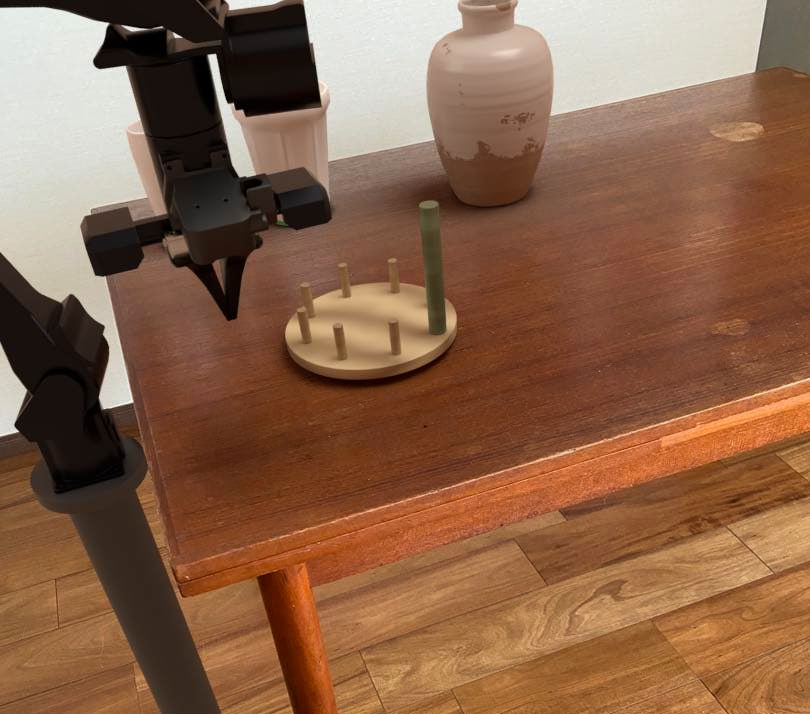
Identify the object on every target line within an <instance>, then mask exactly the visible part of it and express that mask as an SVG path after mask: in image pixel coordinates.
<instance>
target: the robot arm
mask: <svg viewBox="0 0 810 714" xmlns="http://www.w3.org/2000/svg"><path fill="white" fill-rule="evenodd" d="M305 7H306V6H305V1H304V0H280V1H278V2H276V3H272V4H267V5H259V6H258V5H257V6H251V7H243V8H236V9H230V4H229V2H227V1H226V0H0V9H20V8H27V9H28V8H32V9H33V8H47V9H51V10H57V11H63V12H67V13H69V14H73V15H76V16H79V17H81V18H85V19H88V20H91V21H95V22H98V23H99V22H101V23H106V24H107V26H106V28H105V35H104V39H103V41H102V44H101V45H100V47H99V48H98V50H97V52H96V53H95V55H94V57H93V58H92V64H93V66H94V67H95V68H96V69H97V70H105V69H113V68H114V69H115V68H121V67H125V69H126V73H127V76H128V80H129V84H130V87H131V91H132V94H133V98H134V102H135V105H136V108H137V113H138V115H139V119H140V120H141V123H142V127H143V130H144V134H145V138H146V141H147V145H148V148H149V152H150V155H151V159H152V163H153V166H154V170H155V173H156V177H157V181H158V184H159V188H160V191H161V195H162V198H163V202H164V206H165V209H166V213H167V214H163V215H158V216H150V217H146V218H140V219H137V220H133V216H132V214H131V211H130V209H129V206H128V205H127V206H123V207H118V208H114V209H110V210H106V211H101V212H96V213H92V214H88V215H84V217H83V219H82V221H81V223H80V225H79V228H80V232H81V237H82V240H83V245H84V247H85V251H86V254H87V257H88V259H89V263H90V265H91V268H92V271H93V274H94V276H95V277H100V278H101V277H102V278H105V277H109V276H113V275H118V274H121V273H126V272H129V271H135V270H137V269H138V268H139V267H140V265H141V264H142V262H143V260H144V258H145V254H144V250H143V248H144V247H149V246H153V245H158V244H160V243H161V244H163V247H164V249H165V252H166V254H167V257H168V259H169V262H170V264H171V266H172V267H173V268H174V269H175V268H176V269H182V268H188V269H189V270H190V271H191V272H192V273H193V274H194V275H195V276H196V278H198V279H199V281H200V282H201V283H202V284H203V286H204V287H205V288H206V290H207V291H208V293H209V294H210V296H211V298H212V299H213V300H214V302H215V304H216V305H217V307H218V309H219V311H220V312H221V313H222V315H223V316H224V318H225V320H226V321H227V322H231V321H235V320H237V319H238V313H239V306H240V298H241V289H242V281H243V275H244V270H245V267H246V263H247V261H248V259H249V257H250V255H251V254H252V253H253V252H254V251H256V250H259V249H261V248H262V247H263V246H264V239H263V238H262V236H261V234H260V233H262V232H266V231H269V230H270V226H274V225H277V222H278V219H277V215H280V214H282V218H283V221H284V223H285V224H287V225H289V226H288V227H290V228H291V229H293V230H295V231H300V230H304V229H309V228H312V227H317V226H321V225H325V224H328V223H329V222H330V221H332V219H333V215H332V210H331V201H330V202H329V197H328V194H327V191H326V189H325V187H324V186H323V185H322V184H321V183H320V182H319V180H318V179H317V178H316V177H315V176H314V175H313V173H311V172H310V171H309V170H308V169H306V168H305V167H300V168H295V169H291V170H286V171H282V172H278V173H273V174H269V175H267V174H265V173H263V174H258V175H256V174H254V175H250V176H247V175H244V176H243V175H242V176H239V174H238V171H237V170H236V169H235V167H234V165H233V160H232V156H231V152H230V147H229V143H228V138H227V134H226V130H225V126H224V121H223V117H222V111H221V107H220V102H219V98H218V94H217V89H216V84H215V80H214V75H213V70H212V67H211V62H210V57H209V56H211V55H215V56H216V61H217V67H218V72H219V78H220V83H221V86H222V91H223V95H224V98H225V101H226V103H227V105H230V104H233V103H234V106H235V110H236V111H237V110H243V112H244V115H245V117H253V116H261V115H268V114H276V113H283V112H291V111H298V110H306V109H313V108H321V107H322V103H321V96H320V89H319V82H318V80H319V77H318V69H317V61H316V56H315V48H314V43H313V42H311V40H310V35H309V34H310V33H309V27H308V21H307V15H306V14H307V13H306V8H305ZM126 27H129V28H134V29H135V28H136V29H139V30H133V31H132V30H129V29H128V28H126ZM174 34H175V35H177V36H179V37H175V35H174ZM216 261H219V268H220V273H221V280H222V284H221V282H220V280H219V277H218V275H217V273H216V270H215V267H214V265H213V264H214V263H215V262H216ZM105 329H106V326H105V325H104V324H103V323H101V322H99V321H98V320H97V319H95V318H94V317H92V316H91V315H90V314H89V312H88V311H87V310H86V308H85V307H84V306H83V304H82V303H81V300H79V298H78V297H76V295H75V294H73V293H69V294H68V295H67V296H66V297H65V298H64V299H62V301H58V300H56V299H55V298H52V297H50V296H47V295H45V294H42V293H41V292H39V291H38V290H37V289H36V288H35V287H34V286H33V285H32V284H31V283H30V282H29V281H28V280H27V279H26V278H25V277H24V276H23V275H22V273H21V272H20V271H19V270H18V269H17V268H16V267H15V266H14V265H13V263H11V262H10V260H8V259H7V258H6V256H5V255H4V254H3V253H2V252H1V251H0V346H1V347H2V350H3V353H4V354H5V358H6V359H7V361H8V364H9V366H10V369H11V371H12V373H13V374H14V375H15V377H16V378H17V380H18V381H19V382H20V383H21V385H22V386H23V387H24V388H25V390H26V391H25V394H24V398H23V400H22V403H21V405H20V408H19V411H18V413H17V416H16V418H15V421H14V423H13V427H14V428H15V429H16V430H17V432H18V433H20V434H21V436H22V437H23V438H25V439H26V441H28V442H29V443H35V444H36V446H37V449H38V451H39V453H40V455H41V458H42V457H43V460H44V462H45V464H46V466H47V468H48V470H49V472H50V475H51V480H52V489H53V491H54V493H55V494H61V493H65V492H68V491H72V490H75V489H79V488H82V487H86V486H89V485H93V484H96V483H100V482H103V481H107V480H110V479H114V478H117V477H121V476H123V475H124V474H125V469H124V464H123V459H125V457H126V453H125V448H124V444H123V441H122V438H121V435H120V433H121V432H120V431H119V428H118V425H117V422H116V420H115V416H114V414H113V412H112V410H111V408H108V407H106V408H104V406H103V404H102V401H101V399H100V394H101V391H102V388H103V384H104V380H105V377H106V373H107V368H108V365H109V361H110V344H109V342H108V340H107V338H106V337H105V335H104V333H105Z"/></svg>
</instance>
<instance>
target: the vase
mask: <svg viewBox="0 0 810 714" xmlns="http://www.w3.org/2000/svg"><path fill="white" fill-rule="evenodd" d="M518 4H519V0H459V1H458V2H457V10H458V12H460V15H461V25H462V27H461V28H457V29H456V30H453V31H451V32H448V33H446V34H445V35H443V37H441V38H440V39H439V40H438V41H436V42H435V44H434V47H433V48H432V50H431V51H430V55H429V59H428V62H427V68H426V79H425V80H426V81H425V82H426V83H425V85H426V102H427V110H428V115H429V120H430V124H431V129H432V134H433V139H434V143H435V146H436V150H437V153H438V157H439V160H440V162H441V165H442V167H443V169H444V172H445V174H446V177H447V179H448V182H449V184H450V187H451V188H452V190H453V192H454V194H455V196H456V197H457V199H458V200H459V201H461V202H462V203H464V204H467V205H471V206H475V207H500V206H504V205H509V204H512V203H515V202H518V201H520V200H522V199H523V198H524V197H526V195H527V194H528V192H529V190H530V188H531V186H532V183H533V181H534V178H535V176H536V173H537V170H538V168H539V165H540V162H541V159H542V155H543V151H544V148H545V145H546V139H547V135H548V131H549V126H550V125H549V124H550V118H551V114H552V113H551V112H552V107H553V101H554V100H553V98H554V87H555V86H554V85H555V80H554V79H555V77H554V76H555V72H554V64H553V57H552V54H551V51H550V47H549V45H548V42H547V40H546V38H545V37H544V36H543V34H541V32H539V31H538V30H536V29H534V28H533V27H529V26H527V25H523V24H520V23H519V24H518V23H515V11H516V8H517V6H518Z"/></svg>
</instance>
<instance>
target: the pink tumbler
mask: <svg viewBox="0 0 810 714" xmlns="http://www.w3.org/2000/svg"><path fill="white" fill-rule="evenodd" d="M125 132H126V137H127V141H128V145H129V149H130V152H131V157H132V160H133V162H134V165H135V168H136V171H137V174H138V176H139V180H140V181H141V184H142V187H143V190H144V192H145V194H146V196H147V200H148V202H149V205H150V208H151V211H152V213H153V215H154V216H158V215H163V214H167V213H166V209H165V206H164V202H163V198H162V195H161V191H160V188H159V184H158V181H157V177H156V173H155V170H154V166H153V163H152V159H151V155H150V152H149V148H148V145H147V141H146V138H145V134H144V130H143V127H142V123H141V120H140V118H138V119H136V120H133V121H131V122H130V123H128V125H127V126H126V127H125ZM154 216H153V217H154Z"/></svg>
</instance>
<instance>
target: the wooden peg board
mask: <svg viewBox="0 0 810 714" xmlns="http://www.w3.org/2000/svg"><path fill="white" fill-rule="evenodd" d="M418 211H419V222H420V237H421V247H422V259H423V271H424V273H423V277H424V286H420V285H416V284H411V283H405V282H400V275H399V267H398V259H397V258H394V257H393V258H392V257H391V258H389V259H387V266H388V267H387V268H388V276H389V277H388V278H389V282H370V283H361V284H356V285H351V281H350V275H349V269H348V267H349V266H348V264H347V262H341V263H338V264H337V268H338V275H339V282H340V288H339V289H336V290H332V291H329V292H327V293H325V294H323V295H321V296H318V297H316V298H314V299H313V294H312V288H311V283H309V282H302V283H301V284H300V291H301V297H302V301H303V302H302V303H303V306H302V307H298V308H297V309H296V312H295V313H293V315H292V316H291V318H290V319H289V321H288V322H287V324H286V328H285V332H284V338H285V344H286V347H287V348H286V349H287V352H288V353H289V355H290V357H291V358H292V359H293V361H294V362H295V363H296V364H298V365H299V366H300V367H301V368H303V369H305V370H307V371H309V372H311V373H314V374H316V375H319V376H323V377H327V378H331V379H339V380H347V381H348V380H351V381H353V380H354V381H355V380H356V381H361V380H362V381H363V380H376V379H383V378H388V377H393V376H398V375H401V374H405V373H408V372H410V371H414V370H417V369H418V368H421V367H423V366H425V365H427V364H429V363H431V362H433V361H434V360H436V359H437V358H438V357H440V356H441V355H443V354H444V353H445V352H447V350H448V349H449V348H450V346H451V345H452V344H453V342H454V340H455V338H456V336H457V333H458V315H457V312H456V308H455V307H454V305H453V303H451V302H450V300H449V299H447V298H446V296H445V294H446V293H445V281H444V280H445V279H444V265H443V248H442V235H441V234H442V233H441V221H440V220H441V219H440V217H441V216H440V205H439V202H438V201H436V200H424V201H422V202H420V203H419V205H418Z"/></svg>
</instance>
